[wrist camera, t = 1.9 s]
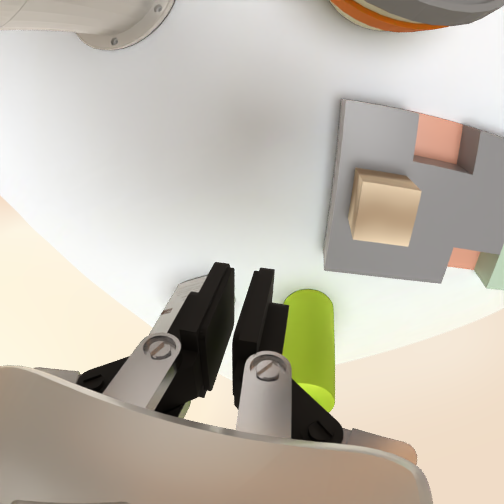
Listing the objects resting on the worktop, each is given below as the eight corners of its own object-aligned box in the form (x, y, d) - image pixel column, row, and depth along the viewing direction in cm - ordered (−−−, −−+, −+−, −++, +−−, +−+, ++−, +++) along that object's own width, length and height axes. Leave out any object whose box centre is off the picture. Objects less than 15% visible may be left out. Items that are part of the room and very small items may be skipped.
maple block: (355, 167, 24) (362, 181, 20) (406, 175, 23) (421, 191, 20) (347, 218, 26) (352, 239, 22) (396, 225, 25) (408, 246, 22)
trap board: (341, 98, 25) (346, 99, 21) (543, 154, 21) (564, 164, 18) (323, 249, 32) (324, 270, 29) (508, 273, 29) (522, 292, 25)
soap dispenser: (282, 333, 38) (254, 486, 21) (282, 287, 35) (249, 456, 18) (330, 335, 37) (324, 491, 20) (335, 290, 34) (337, 462, 17)
